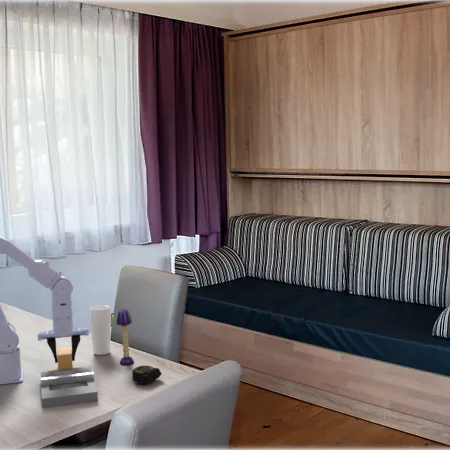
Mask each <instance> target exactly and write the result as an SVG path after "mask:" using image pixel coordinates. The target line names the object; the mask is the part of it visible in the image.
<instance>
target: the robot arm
mask: <svg viewBox="0 0 450 450" xmlns="http://www.w3.org/2000/svg"><path fill="white" fill-rule="evenodd" d="M0 255H6V256H7V257H9V258H11V259H12V260H13V261H15V262H17V263H18V264H19V265H21V266H23V267H25V268H26V269H27V272H28V273H27V274H28V276H29V277H30V278H31V279H33V280H34V281H36V282H37V283H38V284H39V285H42V286H43V287H44V288H45V289H48V290H49V291H51V292H52V293H51V313H52V314H51V315H52V329H51V330H50V329H49V330H46V331H39V332H37V341H42V340H46V344H47V345H48V347H49V349H50V350H51V354H52V356H53V358H54V362H55V364H58V360H57V340H56V339H59V338H60V339H61V338H62V339H63V338H70V339H71V340H70V341H71V352H72V362H75V360H76V353H77V349H78V346H79V344H80V341H81V336H85V337H86V336H87V337H88V336H89V335H90V333H89V332H90V330H89V327H74V326H73V325H74V323H73V321H74V319H73V304H72V303H73V302H72V301H73V300H72V293H73V291H74V287H73V284H72V282H71V281H70V280H69V279H68V277H67V276H65V274H63V272H62V271H60V270H59V271H57V269H55V268H54V267H52V266H51V265H50V262H49V261H47V260H42V259H34V258H32V257H31V256H30V255H28V254H27V253H26V252H24V251H23V250H22V249H20V248H19V247H18V246H17V245H15V244H14V243H13V242H12V241H10V239H7V238H5V237H4V236H2V235H0ZM19 343H20V339H19V334H17V332H16V328H15V326H14V325H13V324H12V323H10V322H9V321H8V319H7V317H6V315H5V313H4V310H3V309H2V306H1V305H0V385H8V384H13V383H14V384H16V383H22V382H23V381H24V371H23V370H22V365H21V348H20V345H19Z"/></svg>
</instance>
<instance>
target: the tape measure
mask: <svg viewBox="0 0 450 450" xmlns="http://www.w3.org/2000/svg"><path fill="white" fill-rule="evenodd" d="M131 372H132V381H133V382H134V383H136V384H140V385H141V384H142V385H143V384H144V385H147V384H150V383H152V382H153V381H155V380H157V379H159V378H160V377H161V376H162V371H161V369H160V368H157V367H153V366H151V365H139V366H136V367H135V368H133V370H132V371H131Z"/></svg>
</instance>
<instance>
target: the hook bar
mask: <svg viewBox="0 0 450 450" xmlns="http://www.w3.org/2000/svg"><path fill="white" fill-rule="evenodd" d="M93 379H94V380H95V373H94V371H92V372H87V373H78V374H70V375H62V376H53V377H45V378H41V377H40V382H41V383H40V385H41V386H43V385H52V384H60V383H68V382H76V381H84V380H93ZM84 382H85V381H84ZM76 383H77V382H76ZM68 384H69V383H68ZM60 385H61V384H60ZM52 386H53V385H52Z"/></svg>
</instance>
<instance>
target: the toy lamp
mask: <svg viewBox="0 0 450 450" xmlns="http://www.w3.org/2000/svg"><path fill="white" fill-rule="evenodd" d="M131 324H132V317H131V315H130V312H129V310H128V309H124V308H123V309H119V310H118V312H117V316H116V325H118V326H121V333H122V334H121V336H122V347H123V348H122V352H123V353H122V355H123V357H122V358H120V360H119V364H120V365H121V366H131V365H133V364H134V363H135V361H134V360H135V359H133V357H132V356H130V353H129V352H130V348H129V332H128V326H129V325H131Z"/></svg>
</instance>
